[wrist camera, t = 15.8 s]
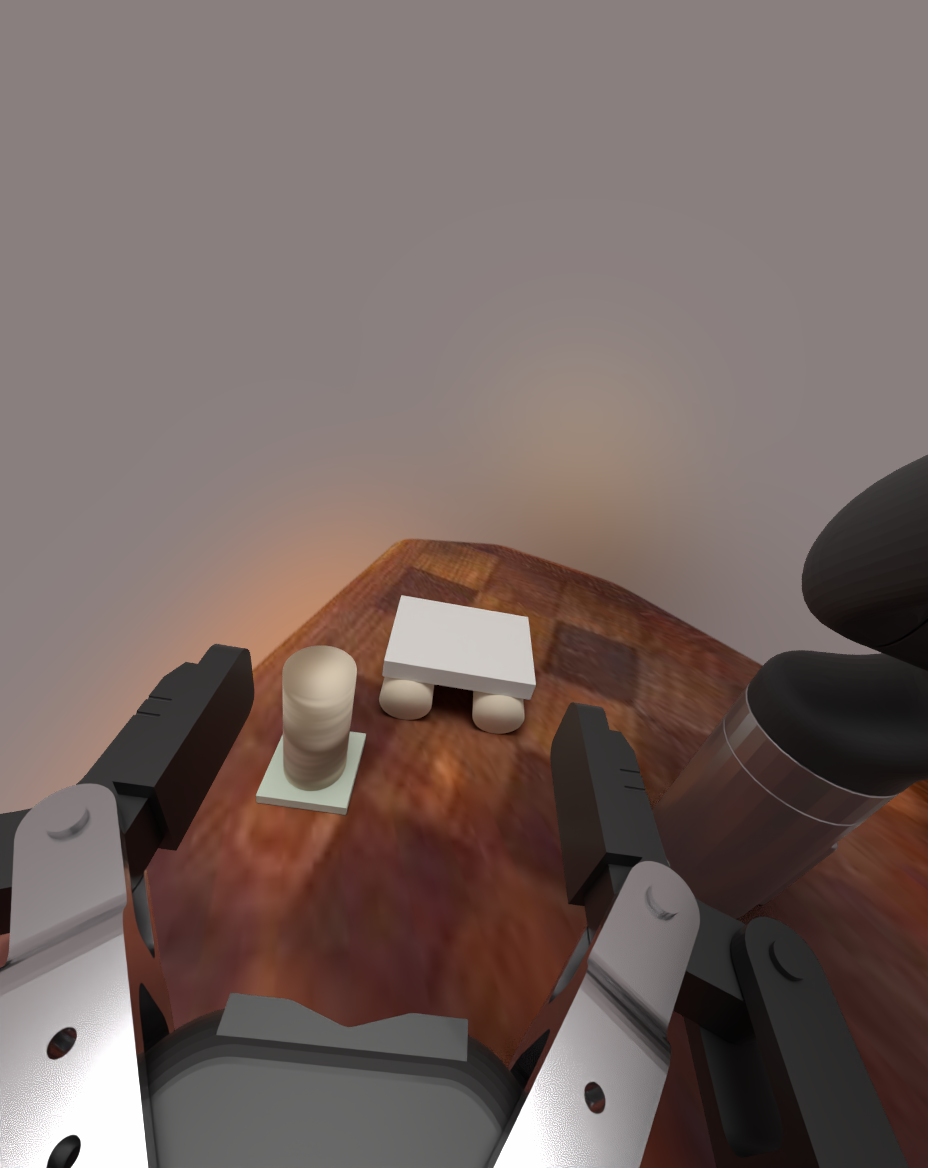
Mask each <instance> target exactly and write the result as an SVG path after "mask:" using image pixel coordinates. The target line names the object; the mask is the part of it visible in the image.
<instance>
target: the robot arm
mask: <svg viewBox="0 0 928 1168" xmlns="http://www.w3.org/2000/svg"><path fill="white" fill-rule="evenodd" d="M802 592H803V596H804V600H805V602H806V604H807V606H808V608H809V610H810V611H811V613H812V614H813V615H814V616H815V617H816V618H817V619H818V620H819V621H820V622H821V623H822V624H824V625H825V626H827V627H828V628H830V629H832V630H833V631H835V632H837V633H839V634H840V635H842V636H844V637H846V638H847V639H850V640H852V641H854V642H856V643H859V644H861V645H864V646H867V647H869V648H872V649H874V650H877V651H879V652H881V654H870V655H847V654H835V653H826V652H816V651H803V650H801V651H800V650H799V651H789V652H784V653H781V654H778V655H776V656H774V657H772V658H771V659H770V660H768V661H767V662H766V663H765V664H764V665H763V666H762V667H761V669H760V670H759V671H758V673H757V674H756V675H755V677H754V678H753V679H752V681H751V682H750V683H749V684H748V686H747V687H746V688H745V690H744V691H743V692H742V693H741V695H740V696H739V697H738V699H737V700H736V701H735V703H734V704H733V705H732V707H731V708H730V709H729V710H728V712H727V713H726V715H725V716H724V717H723V719H722V720H721V721H720V722H719V724H718V725H717V726H716V728H715V729H714V730H713V732H712V733H711V734H710V735H709V737H708V738H707V739H706V741H705V742H704V743H703V745H702V746H701V747H700V749H699V750H698V751H697V752H696V754H695V755H694V756H693V758H692V759H691V760H690V762H689V763H688V764H687V765H686V767H685V768H684V769H683V771H682V772H681V773H680V775H679V776H678V777H677V778H676V780H675V781H674V782H673V784H672V785H671V786H670V788H669V789H668V790H667V791H666V793H665V794H664V795H663V797H662V798H661V799H660V801H659V802H658V803H657V805H656V806H655V807H654V808H653V810H652V809H651V806H650V802H649V799H648V796H647V793H645V786H644V783H643V779H642V776H640V769H639V766H638V763H637V759H636V756H635V753H634V750H633V749H632V748H631V746H630V745H629V743H628V742H627V740H626V739H625V738H624V736H623V735H622V733H621V732H618V731H612V730H609V726H608V722H607V718H606V715H605V712H604V710H603V708H602V707H598V706H591V705H585V704H579V703H571V704H570V705H569V707H568V709H567V711H566V713H565V715H564V717H563V719H562V722H561V724H560V726H559V728H558V730H557V732H556V734H555V737H554V739H553V742H552V747H551V758H550V759H551V770H552V778H553V786H554V794H555V802H556V810H557V817H558V825H559V833H560V841H561V849H562V857H563V865H564V873H565V881H566V889H567V897H568V904H573V905H580V906H585V911H586V918H587V923H586V925H585V926H584V928H583V930H582V932H581V934H580V936H579V937H578V939H577V941H576V943H575V945H574V947H573V949H572V951H571V953H570V955H569V957H568V959H567V961H566V963H565V964H564V966H563V968H562V970H561V972H560V974H559V976H558V978H557V980H556V982H555V984H554V986H553V988H552V989H551V991H550V993H549V995H548V997H547V999H546V1001H545V1003H544V1005H543V1006H542V1008H541V1010H540V1012H539V1013H538V1015H537V1016H536V1018H535V1019H534V1021H533V1022H532V1024H531V1025H530V1027H529V1029H528V1030H527V1032H526V1034H525V1035H524V1037H523V1039H522V1041H521V1043H520V1044H519V1046H518V1048H517V1050H516V1052H515V1054H514V1056H513V1058H512V1059H511V1061H510V1063H509V1065H508V1067H506V1066H505V1065H504V1063H503V1062H502V1061H501V1060H500V1059H499V1058H498V1057H497V1056H496V1055H495V1054H494V1053H493V1052H492V1051H491V1050H490V1049H489V1048H487V1047H486V1046H485V1045H483V1044H482V1043H481V1042H479V1041H478V1040H476V1039H475V1038H473V1037H471V1036H469V1035H468V1019H460V1018H451V1017H442V1016H433V1015H424V1014H415V1013H409V1014H405V1015H401V1016H397V1017H393V1018H388V1019H384V1020H380V1021H376V1022H372V1023H367V1024H363V1025H359V1026H355V1027H345V1026H342V1025H340V1024H338V1023H336V1022H334V1021H332V1020H330V1019H328V1018H326V1017H324V1016H322V1015H320V1014H318V1013H316V1012H314V1011H312V1010H310V1009H308V1008H306V1007H304V1006H302V1005H300V1004H298V1003H296V1002H294V1001H292V1000H290V999H281V998H273V997H264V996H255V995H246V994H237V993H230V996H229V999H228V1002H227V1005H226V1008H225V1009H221V1010H217V1011H214V1012H211V1013H208V1014H206V1015H203V1016H200V1017H198V1018H196V1019H194V1020H192V1021H190V1022H188V1023H186V1024H185V1025H183V1026H181V1027H179V1028H178V1029H176V1030H175V1029H174V1023H173V1016H172V1010H171V1004H170V999H169V994H168V989H167V985H166V981H165V978H164V974H163V971H162V967H161V962H160V956H159V949H158V943H157V936H156V929H155V922H154V915H153V908H152V902H151V895H150V888H149V881H148V874H147V869H146V868H147V866H148V864H149V863H150V861H151V859H152V857H153V856H154V854H155V852H156V850H157V849H158V848H161V849H168V850H177V848H178V846H179V845H180V843H181V841H182V839H183V837H184V835H185V833H186V832H187V830H188V828H189V826H190V824H191V822H192V820H193V819H194V817H195V815H196V813H197V811H198V809H199V807H200V805H201V804H202V802H203V800H204V798H205V796H206V794H207V792H208V791H209V789H210V787H211V785H212V783H213V781H214V779H215V777H216V776H217V774H218V772H219V770H220V768H221V766H222V764H223V763H224V761H225V759H226V757H227V755H228V753H229V751H230V749H231V748H232V746H233V744H234V742H235V740H236V738H237V736H238V735H239V733H240V731H241V729H242V727H243V725H244V723H245V721H246V720H247V718H248V716H249V713H250V711H251V708H252V705H253V700H254V683H253V674H252V665H251V656H250V652H249V650H248V649H245V648H238V647H232V646H226V645H220V644H214V645H213V646H211V647H210V648H209V650H208V651H207V652H206V654H205V655H204V656H203V658H202V659H201V661H200V662H199V663H198V664H194V663H188V662H185V663H184V664H182V665H181V666H179V667H178V668H176V669H175V670H173V671H172V672H170V673H169V674H167V675H166V676H164V677H163V679H162V680H161V681H160V682H159V684H158V685H157V686H156V687H155V689H154V690H153V691H152V692H151V694H150V695H149V698H148V700H147V699H146V700H145V701H144V703H143V704H142V705H141V706H140V708H139V709H138V710H137V713H136V715H133V716H132V718H131V719H130V720H129V721H128V723H127V724H126V725H125V726H124V728H123V729H122V730H121V731H120V733H119V734H118V735H117V737H116V738H115V739H114V740H113V742H112V743H111V744H110V745H109V746H108V748H107V749H106V750H105V752H104V753H103V754H102V755H101V757H100V758H99V759H98V760H97V762H96V763H95V764H94V765H93V767H92V768H91V769H90V770H89V772H88V773H87V774H86V775H85V776H84V778H83V779H82V780H81V781H80V782H78V783H77V784H76V785H74V786H71V787H67V788H64V789H62V790H59V791H57V792H55V793H53V794H51V795H50V796H48V797H46V798H45V799H43V800H42V801H40V802H39V803H38V804H37V805H35V806H34V807H33V808H31V809H27V810H22V811H16V812H10V813H3V814H0V935H2V934H7V933H10V944H9V955H8V959H7V962H6V964H5V965H4V966H3V967H1V968H0V1168H639V1167H640V1163H641V1160H642V1157H643V1153H644V1150H645V1146H646V1143H647V1140H648V1136H649V1133H650V1130H651V1126H652V1123H653V1120H654V1116H655V1113H656V1110H657V1106H658V1103H659V1099H660V1096H661V1093H662V1089H663V1086H664V1083H665V1079H666V1076H667V1072H668V1069H669V1064H670V1058H671V1045H670V1043H669V1042H668V1041H667V1037H666V1036H667V1028H668V1025H669V1021H670V1018H671V1015H672V1012H673V1011H675V1012H677V1013H679V1014H680V1015H682V1016H684V1021H685V1025H686V1030H687V1035H688V1039H689V1044H690V1048H691V1053H692V1057H693V1062H694V1066H695V1071H696V1076H697V1080H698V1085H699V1089H700V1094H701V1098H702V1103H703V1108H704V1112H705V1117H706V1121H707V1126H708V1130H709V1135H710V1140H711V1144H712V1149H713V1153H714V1158H715V1162H716V1167H717V1168H909V1167H908V1164H907V1162H906V1160H905V1157H904V1155H903V1153H902V1151H901V1148H900V1146H899V1144H898V1141H897V1139H896V1137H895V1134H894V1132H893V1130H892V1128H891V1125H890V1123H889V1121H888V1118H887V1116H886V1114H885V1111H884V1109H883V1107H882V1105H881V1102H880V1100H879V1098H878V1095H877V1093H876V1091H875V1088H874V1086H873V1084H872V1082H871V1079H870V1077H869V1075H868V1072H867V1070H866V1068H865V1065H864V1063H863V1061H862V1059H861V1056H860V1054H859V1052H858V1049H857V1047H856V1045H855V1042H854V1040H853V1038H852V1036H851V1033H850V1031H849V1029H848V1026H847V1024H846V1022H845V1019H844V1017H843V1015H842V1012H841V1010H840V1008H839V1006H838V1003H837V1001H836V999H835V996H834V994H833V992H832V989H831V987H830V985H829V983H828V980H827V978H826V976H825V973H824V971H823V969H822V967H821V965H820V963H819V961H818V959H817V957H816V956H815V954H814V953H813V951H812V950H811V949H810V947H809V946H808V945H807V943H806V942H805V941H804V940H803V939H802V938H801V937H800V936H799V935H798V934H797V933H796V932H795V931H793V930H792V929H791V928H790V927H788V926H787V925H785V924H783V923H782V922H780V921H778V920H776V919H773V918H769V917H757V918H755V919H753V920H751V921H750V922H749V923H747V924H745V923H743V922H741V921H739V920H736V919H737V918H739V917H741V916H743V915H745V914H746V913H747V912H749V911H750V910H751V909H752V908H754V907H755V906H756V905H758V904H760V905H765V904H766V903H767V902H769V901H770V900H771V899H773V898H774V897H775V896H777V895H778V894H779V893H780V892H782V891H783V890H784V889H786V888H787V887H788V886H790V885H791V884H792V883H794V882H795V881H796V880H797V879H799V878H800V877H801V876H803V875H804V874H805V873H807V872H808V871H809V870H811V869H812V868H813V867H814V866H816V865H817V864H818V863H820V862H821V861H822V860H824V859H825V858H826V857H827V856H829V855H830V854H831V853H833V852H834V851H835V850H836V849H837V847H838V841H840V840H841V839H842V838H843V837H845V836H846V835H847V834H848V833H850V832H851V831H852V830H854V829H855V828H856V827H857V826H859V825H860V824H861V823H862V822H864V821H865V820H866V819H867V818H869V817H870V816H871V815H872V814H873V813H875V812H876V811H877V810H879V809H880V808H881V807H882V806H884V805H885V804H886V803H888V802H889V801H890V800H891V799H893V798H894V797H895V796H897V795H898V794H899V793H901V792H903V791H904V790H905V789H907V788H908V787H909V786H911V785H912V784H913V783H915V782H917V781H921V780H926V779H928V455H926V456H924V457H922V458H920V459H918V460H916V461H914V462H912V463H910V464H908V465H906V466H904V467H902V468H900V469H898V470H896V471H894V472H893V473H891V474H889V475H888V476H886V477H884V478H883V479H881V480H879V481H877V482H876V483H874V484H873V485H872V486H870V487H869V488H867V489H866V490H865V491H864V492H862V493H861V494H859V495H858V496H857V497H855V498H854V499H853V500H852V501H850V503H848V504H847V505H846V506H845V507H844V508H843V509H842V510H841V511H840V512H838V514H837V515H836V516H835V517H834V518H833V519H832V520H831V521H830V522H829V523H828V524H827V526H826V527H825V528H824V530H823V531H822V532H821V534H820V535H819V536H818V538H817V539H816V541H815V542H814V544H813V546H812V547H811V549H810V551H809V553H808V556H807V558H806V561H805V564H804V569H803V574H802Z"/></svg>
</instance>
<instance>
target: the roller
mask: <svg viewBox="0 0 928 1168" xmlns="http://www.w3.org/2000/svg"><path fill="white" fill-rule="evenodd" d="M356 674H357V667H356V664H355V662H354V660H353V659H352V657H351V656H350V655H349V654H347V653H346V652H344V651H343V650H341V649H338V648H335V647H331V646H312V647H307V648H304V649H301V650H299V651H297V652H296V653H294V654H293V655H292V656H290V657H289V659H288V660H287V661H286V662H285V665H284V667H283V768H284V774H285V776H286V778H287V780H288V781H289V782H290V783H291V784H292V785H293V786H295V787H297V788H299V789H302V790H307V791H316V790H321V789H324V788H327V787H329V786H331V785H332V784H334V783H335V782H336V781H337V780H338V779H339V778H340V777H341V776H342V774H343V772H344V770H345V767H346V760H347V751H348V743H349V734H350V725H351V717H352V708H353V700H354V691H355V683H356Z"/></svg>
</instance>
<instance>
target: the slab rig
mask: <svg viewBox="0 0 928 1168" xmlns="http://www.w3.org/2000/svg"><path fill="white" fill-rule="evenodd" d="M382 676H385V677H384V681H383V685H382V689H381V693H380V697H379V703H380V705H381V707H382V709H383V710H384V711H385V712H386V713H388V714H389V715H391V716H393V717H395V718H399V719H404V720H414V719H418V718H421V717H423V716H425V715H426V714H427V713H428V712H429V711H430V709H431V707H432V699H433V691H434V684H435V685H442V686H448V687H454V688H460V689H467V690H473V712H472V718H473V721H474V723H475V724H476V726H477V727H479V728H480V729H482V730H483V731H486V732H489V733H494V734H503V733H508V732H512V731H514V730H516V729H517V728H519V727H520V726H521V725H522V723H523V721H524V718H525V715H524V703H523V699H529V700H530V699H531V696H532V694H533V691H534V688H535V686H536V683H535V674H534V665H533V656H532V648H531V639H530V630H529V622H528V617H523V616H518V615H512V614H506V613H500V612H494V611H489V610H483V609H477V608H471V607H465V606H460V605H454V604H448V603H442V602H437V601H431V600H425V599H419V598H413V597H408V596H402V595H401V599H400V603H399V606H398V610H397V614H396V618H395V622H394V625H393V629H392V633H391V637H390V640H389V644H388V648H387V652H386V655H385V659H384V666H383V675H382Z"/></svg>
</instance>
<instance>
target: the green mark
mask: <svg viewBox="0 0 928 1168" xmlns="http://www.w3.org/2000/svg"><path fill="white" fill-rule="evenodd" d="M365 739H366V734H364V733H357V732H350V734H349V743H348V751H347V760H346V767H345V770H344V772H343V774H342V776H341V777H340V778H339V779H338V780H337V781H336V782H335V783H334V784H332V785H331V786H329V787H327V788H324V789H321V790H316V791H307V790H302V789H299V788H297V787H295V786H293V785H292V784H291V783H290V782H289V781H288V780H287V778H286V776H285V774H284V768H283V735H282V737H281V740H280V742H279V744H278V746H277V749H276V751H275V753H274V756H273V758H272V760H271V762H270V765H269V767H268V769H267V771H266V774H265V776H264V778H263V780H262V783H261V785H260V787H259V790H258V792H257V794H256V800H257V803H264V804H271V805H278V806H285V807H292V808H299V809H307V810H314V811H321V812H328V813H335V814H342V815H346V813H347V809H348V806H349V802H350V798H351V794H352V790H353V786H354V782H355V779H356V775H357V771H358V767H359V763H360V759H361V756H362V752H363V748H364V744H365Z"/></svg>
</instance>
